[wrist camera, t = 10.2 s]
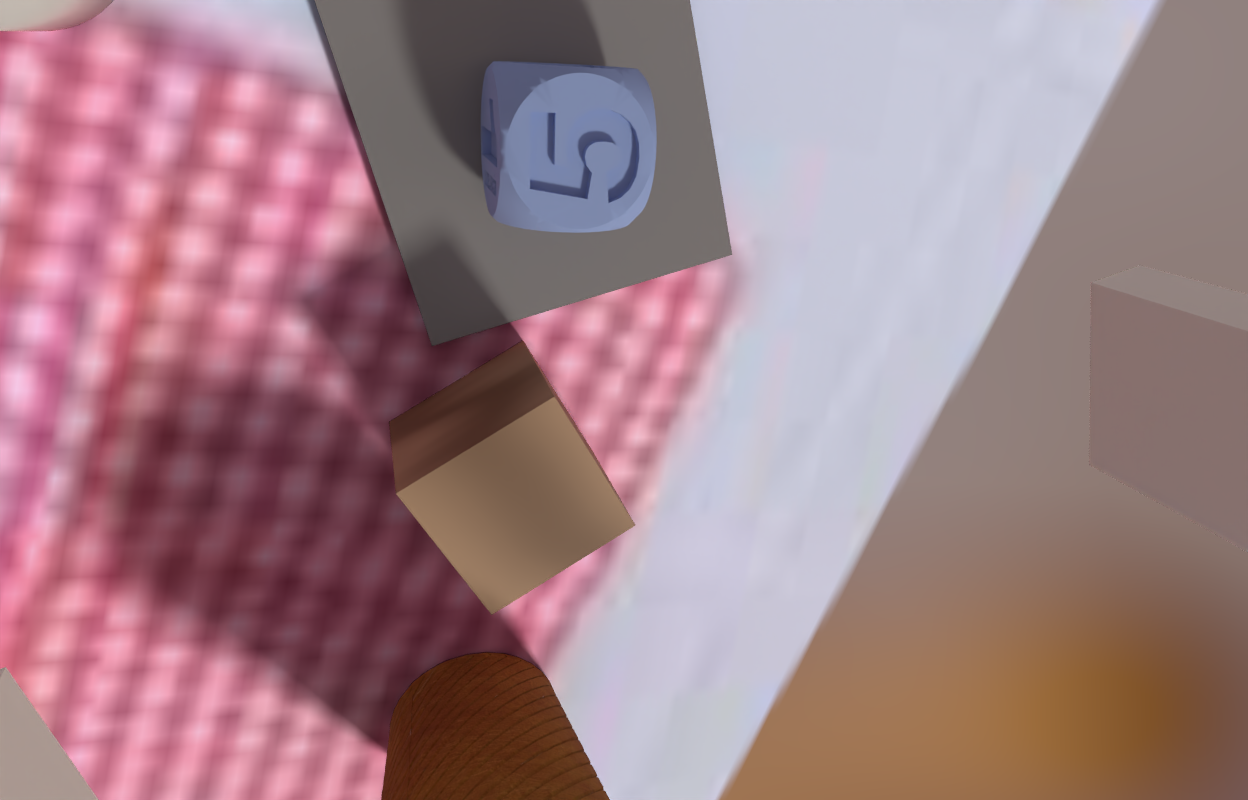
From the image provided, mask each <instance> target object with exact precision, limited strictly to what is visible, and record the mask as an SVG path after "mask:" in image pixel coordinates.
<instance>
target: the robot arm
mask: <svg viewBox="0 0 1248 800" xmlns="http://www.w3.org/2000/svg"><path fill="white" fill-rule="evenodd" d="M1090 331H1091V332H1090V440H1089V442H1090V443H1089V465H1091V466H1092V467H1094V468H1096V469H1098V470H1100V471H1101V472H1103V473H1106V474H1107V475H1109V476H1110V477H1112V478H1114V479H1116V480H1118V481H1119V482H1121V483H1123V484H1125V485H1127V486H1128V487H1130V488H1132V489H1134V490H1136V491H1138V492H1139V493H1141V494H1143V495H1145V496H1147V497H1148V498H1150V499H1152V500H1154V501H1156V502H1157V503H1159V504H1161V505H1163V506H1165V507H1167V508H1168V509H1170V510H1172V511H1174V512H1176V513H1178V514H1179V515H1181V516H1183V517H1185V518H1187V519H1188V520H1190V521H1192V522H1194V523H1195V524H1197V525H1199V526H1201V527H1203V528H1204V529H1206V530H1208V531H1210V532H1212V533H1214V534H1215V535H1217V536H1219V537H1221V538H1223V539H1225V540H1226V541H1228V542H1230V543H1232V544H1234V545H1235V546H1237V547H1239V548H1241V549H1242V550H1244V551H1246V552H1248V294H1246V293H1243V292H1239V291H1235V290H1232V289H1228V288H1224V287H1220V286H1216V285H1213V284H1209V283H1206V282H1202V281H1198V280H1194V279H1191V278H1187V277H1183V276H1180V275H1176V274H1172V273H1168V272H1165V271H1161V270H1157V269H1154V268H1150V267H1146V266H1142V265H1139V266H1136V267H1133V268H1130V269H1127V270H1125V271H1122V272H1119V273H1116V274H1113V275H1110V276H1108V277H1105V278H1102V279H1099V280H1096V281H1094V282H1091V326H1090ZM0 800H98V798H97V797H96V795H95V794H94V793H93V791H92V790H91V788H90V787H89V785H88V784H87V783H86V781H85V780H84V778H83V777H82V775H81V774H80V773H79V771H78V770H77V768H76V767H75V765H74V764H73V763H72V761H71V760H70V758H69V757H68V755H67V754H66V753H65V751H64V750H63V748H62V747H61V745H60V744H59V743H58V741H57V740H56V738H55V737H54V735H53V734H52V733H51V731H50V730H49V728H48V727H47V725H46V724H45V723H44V721H43V720H42V718H41V717H40V715H39V714H38V713H37V711H36V710H35V708H34V707H33V705H32V704H31V703H30V701H29V700H28V698H27V697H26V695H25V694H24V693H23V691H22V690H21V688H20V687H19V685H18V684H17V683H16V681H15V680H14V678H13V677H12V675H11V674H10V672H9V671H8V670H7V668H6V667H5V668H2V669H0Z"/></svg>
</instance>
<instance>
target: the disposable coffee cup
mask: <svg viewBox="0 0 1248 800" xmlns="http://www.w3.org/2000/svg"><path fill="white" fill-rule="evenodd" d="M381 800H610V799H609V797H608V796H607V794H606V792H605V791H603V786H602V784H601V782H600V780H599V778H598V777H597V774H596V772H595V770H594V768H593V766H592V765H590V760H589V758H588V757H587V755H586V753H585V752H584V749H583V747H582V745H581V743H580V741H579V740H578V737H577V735H576V733H575V731H574V730H573V729H572V725H571V723H570V722H569V720H568V718H566V714H565V712H564V710H563V708H562V707H561V704H560V702H559V700H558V698H557V697H556V694H555V692H554V690H553V688H552V686H551V683H550V682H549V680H548V679H547V678H546V676H545V675H544V674H543V673H542V672H541V671H540V670H539V669H538V668H536V667H535V666H534V665H532V664H531V663H529V662H527V661H525V660H523V659H521V658H519V657H515V656H511V655H507V654H502V653H488V652H487V653H478V654H470V655H465V656H461V657H458V658H454V659H451V660H448V661H446V662H443V663H441V664H439V665H437V666H435V667H434V668H432V669H431V670H429V671H427V672H426V673H424V674H423V675H422V676H420V677H419V678H418V679H417V680H415V681H414V682H413V683H412V684H411V685H410V687H409V688H408V689H407V690H406V692H405V693H404V694H403V695H402V697H401V698H400V699H399V701H398V703H397V705H396V707H395V709H394V712H393V715H392V719H391V723H390V734H389V743H388V750H387V759H386V765H385V775H384V784H383V790H382V799H381Z"/></svg>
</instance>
